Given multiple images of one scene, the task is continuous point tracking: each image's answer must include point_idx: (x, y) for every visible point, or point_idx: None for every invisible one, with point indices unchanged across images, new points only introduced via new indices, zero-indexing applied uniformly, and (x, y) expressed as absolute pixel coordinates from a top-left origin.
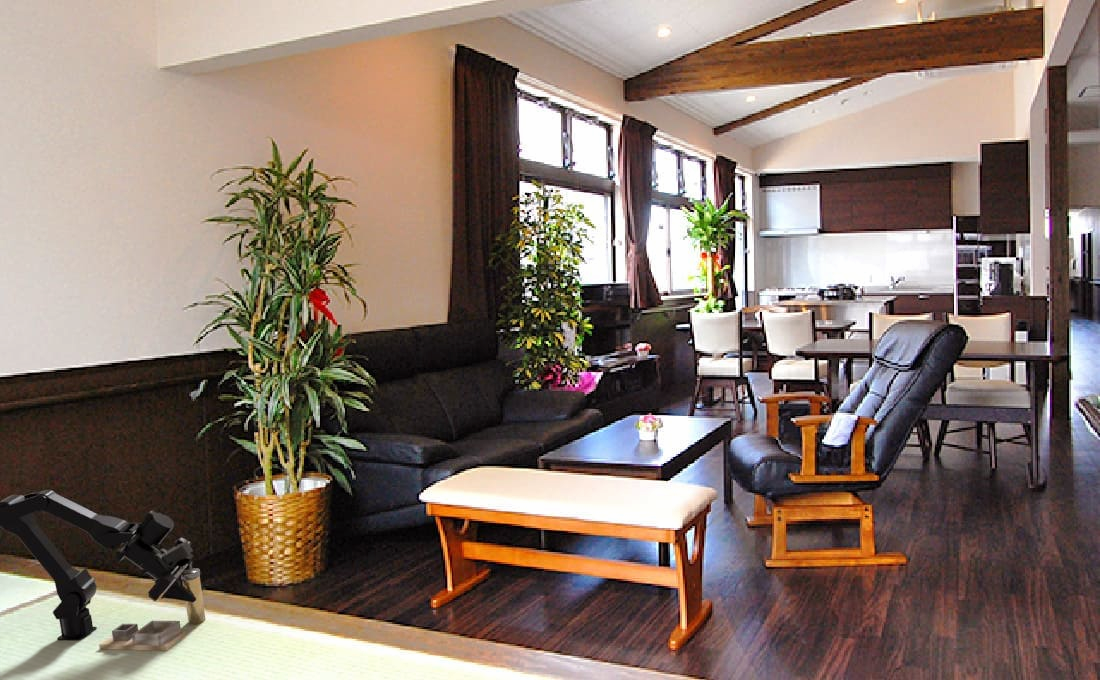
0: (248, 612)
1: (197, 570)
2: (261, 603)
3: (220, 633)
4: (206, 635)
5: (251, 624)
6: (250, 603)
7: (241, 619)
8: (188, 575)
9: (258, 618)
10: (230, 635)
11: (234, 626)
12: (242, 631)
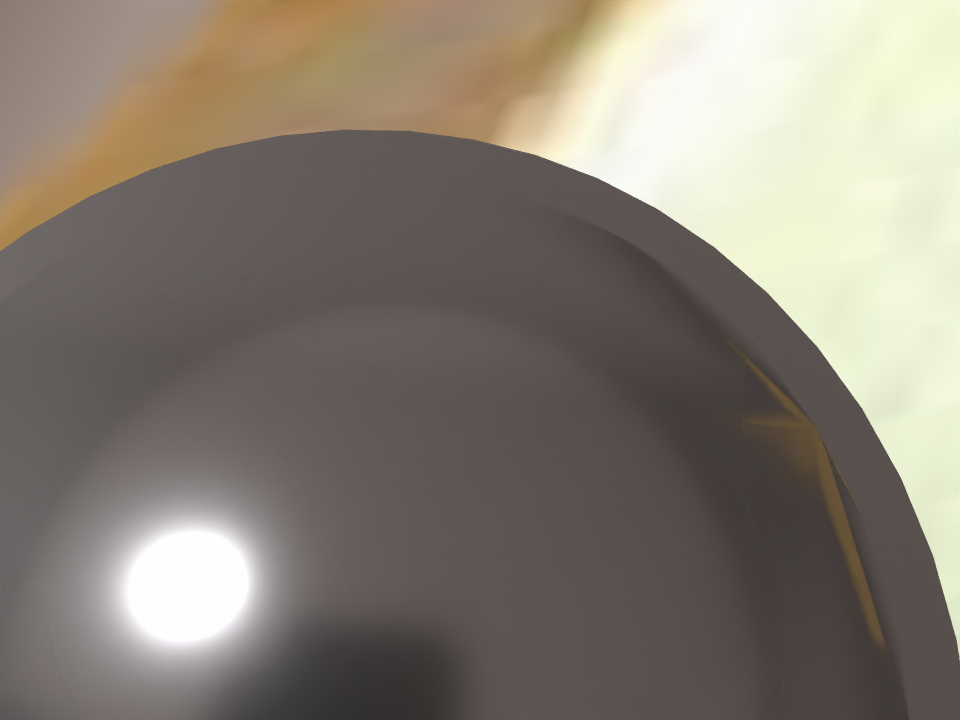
0: (410, 111)
1: (327, 222)
2: (228, 30)
3: (877, 292)
4: (902, 435)
5: (722, 43)
6: (173, 127)
7: (568, 148)
8: (938, 641)
9: (597, 6)
10: (945, 185)
11: (728, 184)
12: (869, 94)
